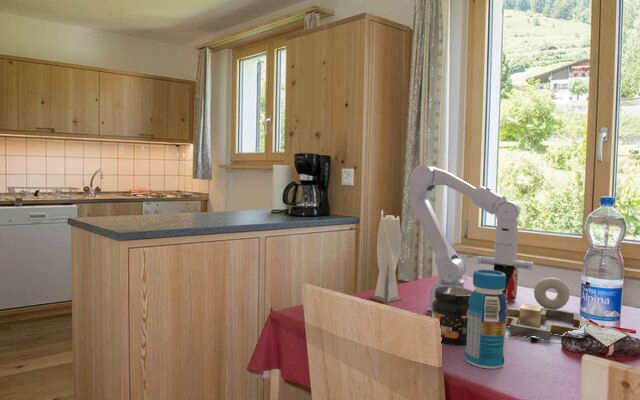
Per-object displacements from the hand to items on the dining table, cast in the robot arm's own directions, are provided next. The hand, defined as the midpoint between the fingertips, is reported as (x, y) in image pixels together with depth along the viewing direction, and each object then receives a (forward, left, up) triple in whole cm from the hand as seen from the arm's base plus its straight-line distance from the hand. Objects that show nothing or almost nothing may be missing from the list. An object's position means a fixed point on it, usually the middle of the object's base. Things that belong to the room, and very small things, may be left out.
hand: (503, 291), depth 141 cm
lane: (+4, -9, -8) cm, 13 cm away
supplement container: (-25, -3, -8) cm, 26 cm away
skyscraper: (-14, +33, -8) cm, 37 cm away
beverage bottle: (-31, -17, -8) cm, 36 cm away
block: (+3, -7, -8) cm, 11 cm away
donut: (+23, -1, -8) cm, 25 cm away
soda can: (+20, +13, -8) cm, 26 cm away
